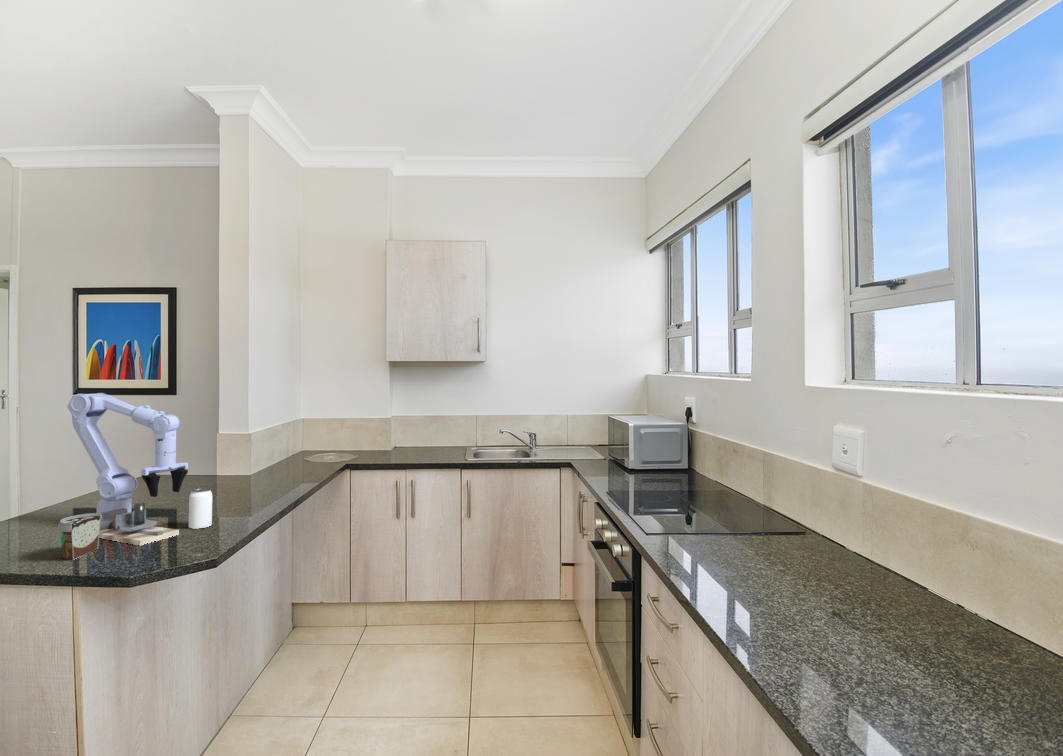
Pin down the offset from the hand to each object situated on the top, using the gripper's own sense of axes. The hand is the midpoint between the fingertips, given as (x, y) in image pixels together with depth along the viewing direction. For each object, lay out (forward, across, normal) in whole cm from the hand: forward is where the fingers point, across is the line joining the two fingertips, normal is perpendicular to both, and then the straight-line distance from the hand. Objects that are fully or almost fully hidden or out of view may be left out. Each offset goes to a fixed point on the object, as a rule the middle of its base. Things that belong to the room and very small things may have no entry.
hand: (165, 494), depth 178 cm
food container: (+11, -29, -4) cm, 31 cm away
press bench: (+10, -11, -2) cm, 15 cm away
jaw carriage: (+8, -11, -3) cm, 14 cm away
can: (+11, +4, -11) cm, 16 cm away
